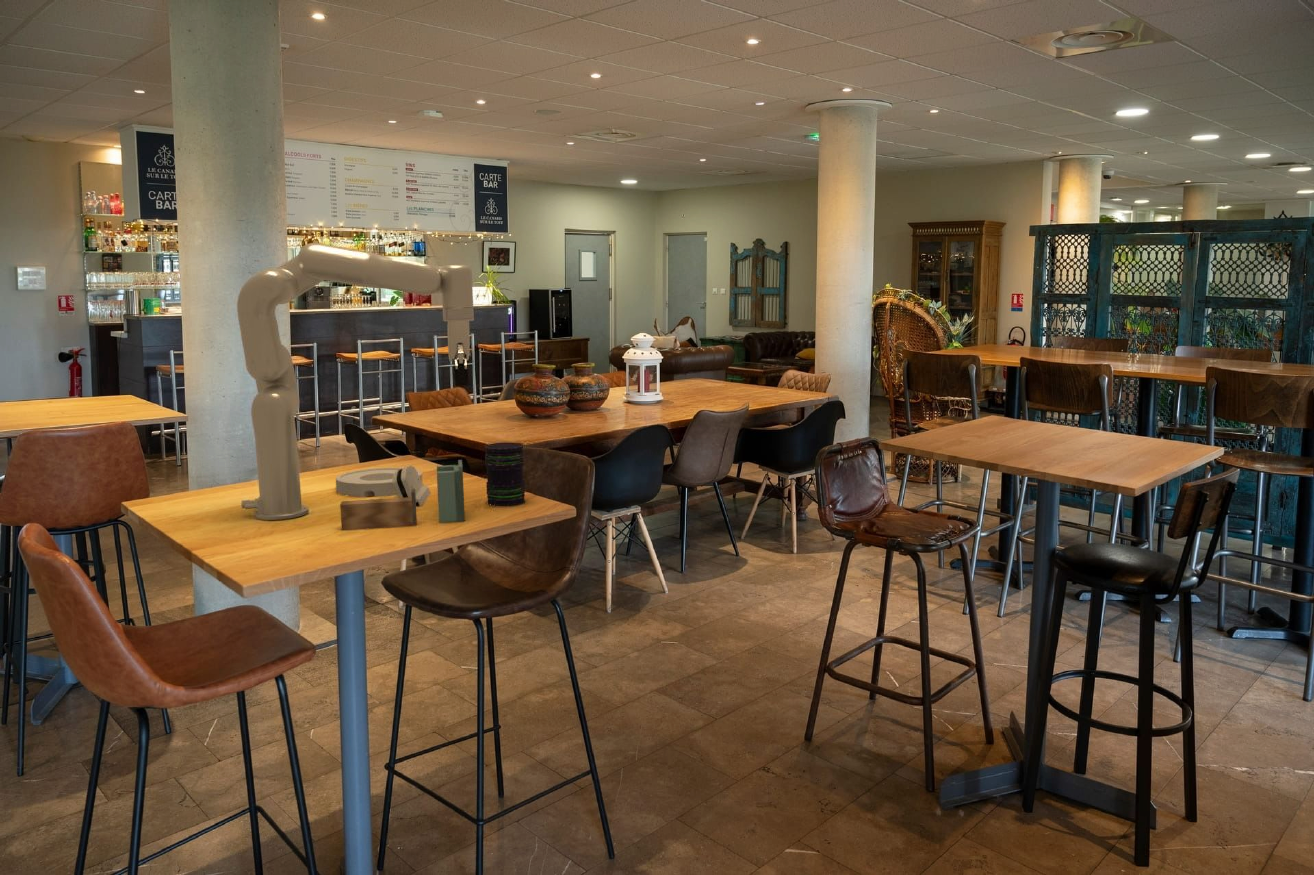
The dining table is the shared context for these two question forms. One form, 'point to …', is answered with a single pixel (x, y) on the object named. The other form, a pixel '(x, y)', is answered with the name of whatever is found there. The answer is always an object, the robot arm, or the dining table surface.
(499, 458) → the storage jar
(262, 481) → the robot arm
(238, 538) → the dining table surface
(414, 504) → the brown wooden block
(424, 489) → the grey layered block
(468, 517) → the dining table surface
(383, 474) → the ashtray
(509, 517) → the dining table surface
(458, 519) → the u-shaped channel piece
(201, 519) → the dining table surface
